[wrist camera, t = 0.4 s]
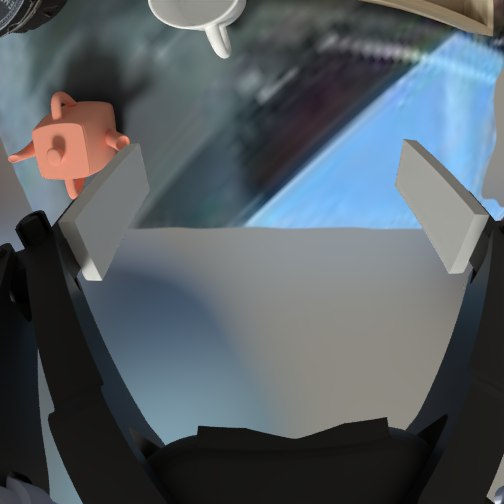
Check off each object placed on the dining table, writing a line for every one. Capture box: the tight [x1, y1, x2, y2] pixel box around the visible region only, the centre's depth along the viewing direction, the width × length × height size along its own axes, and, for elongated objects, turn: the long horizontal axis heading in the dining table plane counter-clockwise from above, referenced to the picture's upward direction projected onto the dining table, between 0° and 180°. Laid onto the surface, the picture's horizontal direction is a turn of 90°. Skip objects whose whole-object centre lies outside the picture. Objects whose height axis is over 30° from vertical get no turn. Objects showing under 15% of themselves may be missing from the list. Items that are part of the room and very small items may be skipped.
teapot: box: [8, 91, 130, 199], centre depth 31 cm, size 14×12×10 cm
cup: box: [148, 0, 246, 58], centre depth 22 cm, size 8×12×10 cm
